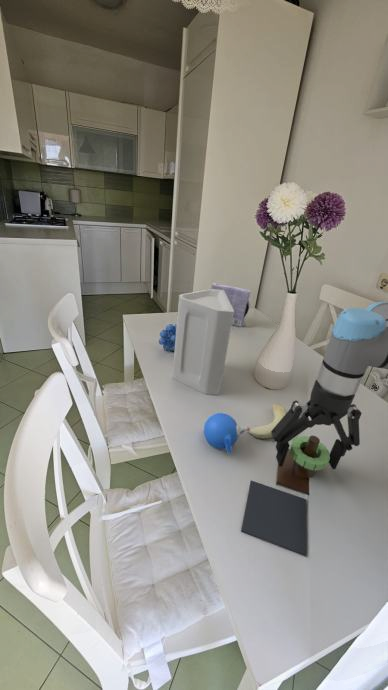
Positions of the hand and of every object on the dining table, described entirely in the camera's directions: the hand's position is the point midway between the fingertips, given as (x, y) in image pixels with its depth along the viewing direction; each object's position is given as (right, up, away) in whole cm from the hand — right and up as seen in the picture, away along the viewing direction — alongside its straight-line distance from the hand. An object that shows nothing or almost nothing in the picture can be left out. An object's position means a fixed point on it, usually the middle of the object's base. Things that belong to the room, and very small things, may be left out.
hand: (305, 463), depth 70 cm
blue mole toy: (-18, +2, +8) cm, 19 cm away
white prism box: (-26, +16, +33) cm, 45 cm away
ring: (0, +2, -1) cm, 2 cm away
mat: (-9, -7, -8) cm, 14 cm away
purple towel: (-10, +38, +78) cm, 88 cm away
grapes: (-34, +25, +48) cm, 64 cm away
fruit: (-5, +5, +16) cm, 17 cm away
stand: (0, -3, +2) cm, 4 cm away
